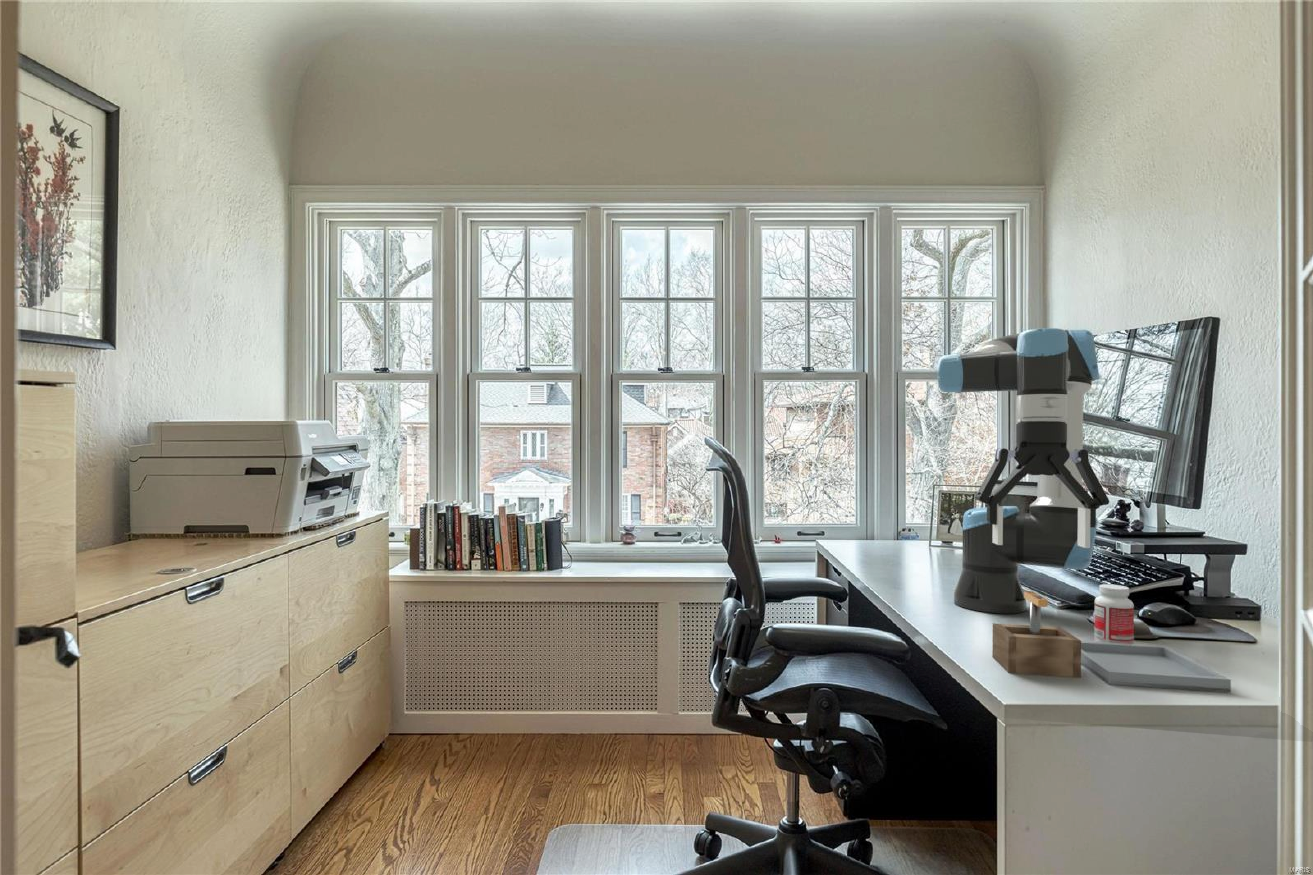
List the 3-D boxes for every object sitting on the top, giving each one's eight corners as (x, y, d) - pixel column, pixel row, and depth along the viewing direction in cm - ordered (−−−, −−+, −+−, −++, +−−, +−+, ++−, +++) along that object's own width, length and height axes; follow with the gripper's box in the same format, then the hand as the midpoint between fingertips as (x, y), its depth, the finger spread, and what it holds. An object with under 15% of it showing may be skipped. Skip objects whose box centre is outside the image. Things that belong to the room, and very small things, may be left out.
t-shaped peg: (1022, 660, 116) (1023, 590, 116) (1032, 661, 116) (1033, 591, 116) (1037, 672, 110) (1037, 599, 110) (1047, 673, 109) (1048, 599, 109)
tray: (1062, 651, 122) (1062, 640, 122) (1166, 657, 119) (1166, 646, 119) (1108, 684, 105) (1108, 671, 105) (1230, 692, 102) (1230, 679, 102)
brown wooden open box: (1008, 672, 110) (1008, 636, 110) (990, 655, 119) (990, 621, 119) (1080, 677, 108) (1081, 640, 108) (1056, 659, 117) (1057, 625, 117)
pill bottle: (1139, 646, 125) (1140, 587, 125) (1125, 651, 122) (1125, 591, 122) (1103, 638, 130) (1103, 581, 130) (1088, 642, 127) (1088, 585, 127)
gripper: (970, 419, 111) (969, 546, 111) (1134, 420, 107) (1133, 551, 107) (957, 420, 118) (956, 539, 118) (1110, 421, 114) (1109, 544, 114)
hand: (1040, 545), depth 113 cm, fingers open, 13 cm apart
